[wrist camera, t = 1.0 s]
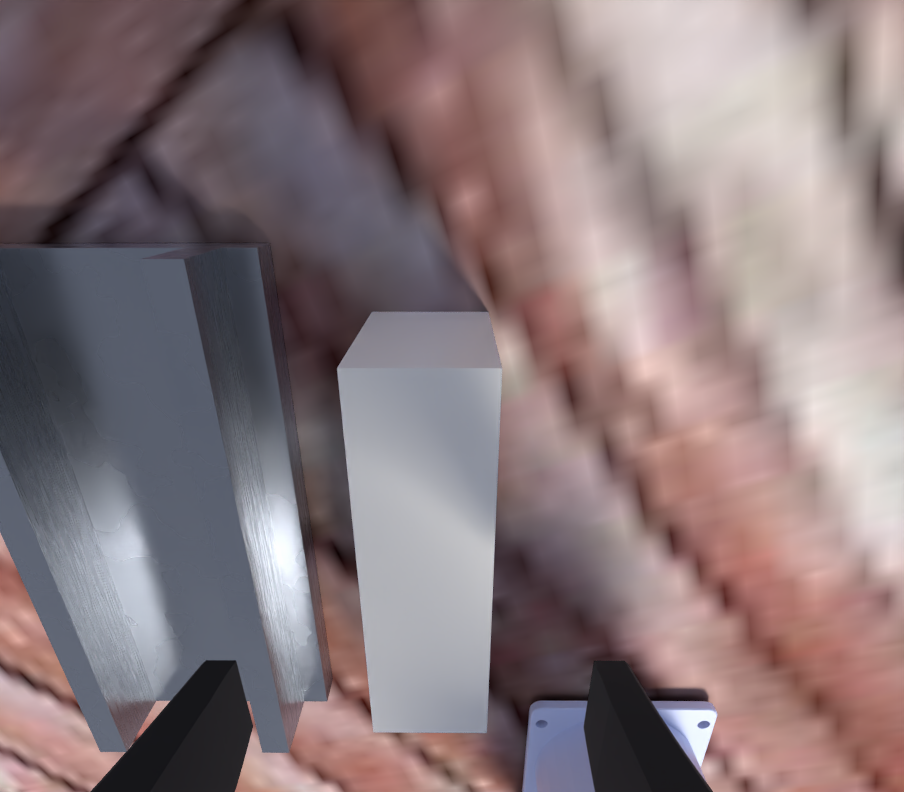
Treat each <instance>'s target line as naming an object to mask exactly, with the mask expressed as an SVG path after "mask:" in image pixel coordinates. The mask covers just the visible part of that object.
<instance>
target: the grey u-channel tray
mask: <svg viewBox="0 0 904 792" xmlns="http://www.w3.org/2000/svg"><path fill="white" fill-rule="evenodd" d="M0 533H1V535H2V537H3V539H4V541H5V544H6V546H7V548H8V550H9V552H10V554H11V557H12V559H13V561H14V563H15V565H16V568H17V570H18V572H19V574H20V576H21V579H22V581H23V583H24V585H25V587H26V590H27V592H28V594H29V596H30V598H31V601H32V603H33V605H34V607H35V609H36V611H37V614H38V616H39V618H40V620H41V622H42V625H43V627H44V629H45V631H46V633H47V636H48V638H49V640H50V642H51V644H52V647H53V649H54V651H55V653H56V655H57V658H58V660H59V662H60V664H61V666H62V669H63V671H64V673H65V675H66V677H67V679H68V682H69V684H70V686H71V688H72V690H73V693H74V695H75V697H76V699H77V701H78V704H79V706H80V708H81V710H82V712H83V715H84V717H85V719H86V721H87V723H88V726H89V728H90V730H91V732H92V734H93V736H94V739H95V741H96V743H97V745H98V747H99V750H100V752H127V751H128V749H129V747H130V746H131V744H132V742H133V740H134V739H135V737H136V735H137V733H138V732H139V730H140V728H141V726H142V725H143V723H144V721H145V719H146V718H147V716H148V714H149V712H150V711H151V709H152V707H153V705H154V704H155V702H156V701H171V700H172V699H173V697H174V696H175V695H176V694H177V693H178V692H179V690H180V689H181V688H182V687H183V686H184V684H185V683H186V682H187V681H188V680H189V679H190V677H191V676H192V675H193V674H194V673H195V671H196V670H197V669H198V668H199V667H200V666H201V664H202V663H204V662H205V661H206V660H236V662H237V666H238V670H239V673H240V677H241V681H242V685H243V689H244V693H245V697H246V701H250V704H251V708H252V712H253V716H254V720H255V724H256V728H257V732H258V736H259V740H260V744H261V748H262V752H270V753H289V752H290V748H291V745H292V741H293V738H294V734H295V731H296V727H297V724H298V721H299V717H300V714H301V710H302V707H303V703H304V701H327V700H328V696H329V692H330V688H331V684H332V679H333V678H332V671H331V664H330V657H329V650H328V643H327V636H326V629H325V622H324V615H323V608H322V601H321V594H320V587H319V581H318V574H317V567H316V560H315V553H314V546H313V539H312V532H311V525H310V518H309V511H308V504H307V497H306V490H305V483H304V476H303V470H302V463H301V456H300V449H299V442H298V435H297V428H296V421H295V414H294V407H293V400H292V393H291V386H290V379H289V372H288V365H287V359H286V352H285V345H284V338H283V331H282V324H281V317H280V310H279V303H278V296H277V289H276V282H275V275H274V268H273V261H272V254H271V247H270V243H83V244H0Z"/></svg>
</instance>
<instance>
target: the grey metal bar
mask: <svg viewBox="0 0 904 792" xmlns="http://www.w3.org/2000/svg"><path fill="white" fill-rule="evenodd" d="M337 373H338V383H339V393H340V403H341V413H342V423H343V433H344V443H345V453H346V463H347V473H348V483H349V493H350V503H351V513H352V523H353V533H354V543H355V553H356V563H357V573H358V583H359V593H360V603H361V613H362V623H363V633H364V643H365V653H366V663H367V673H368V683H369V693H370V703H371V713H372V723H373V732H411V733H487V715H488V692H489V668H490V644H491V621H492V597H493V573H494V550H495V526H496V502H497V479H498V455H499V431H500V408H501V384H502V366H501V361H500V357H499V353H498V349H497V345H496V341H495V337H494V333H493V328H492V324H491V320H490V316H489V312H372V313H371V314H370V316H369V317H368V319H367V321H366V322H365V324H364V325H363V327H362V329H361V330H360V332H359V333H358V335H357V337H356V338H355V340H354V341H353V343H352V345H351V346H350V348H349V350H348V351H347V353H346V354H345V356H344V358H343V359H342V361H341V362H340V364H339V366H338V367H337Z"/></svg>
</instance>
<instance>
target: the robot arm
mask: <svg viewBox="0 0 904 792" xmlns="http://www.w3.org/2000/svg"><path fill="white" fill-rule="evenodd" d="M716 718H717V712H716V710H715V708H714V706H713V704H712V703H710V702H706V701H651V700H650V698H649V697H648V695H647V694H646V692H645V691H644V689H643V687H642V686H641V684H640V682H639V681H638V679H637V677H636V676H635V674H634V673H633V671H632V669H631V667H630V666H629V665H628V664H627V663H626V662H625V661H594V665H593V671H592V677H591V683H590V689H589V696H588V701H543V700H542V701H536V702H534V703H533V704H532V705H531V706H530V709H529V720H528V731H527V742H526V753H525V764H524V776H523V787H522V792H713V791H712V790H711V788H710V787H709V786H708V784H707V782H706V780H705V777H704V775H703V773H702V770H701V765H702V762H703V759H704V755H705V752H706V749H707V746H708V743H709V740H710V737H711V734H712V731H713V727H714V724H715V721H716ZM252 728H253V724H252V721H251V717H250V713H249V709H248V705H247V701H246V697H245V693H244V689H243V685H242V681H241V677H240V673H239V670H238V666H237V662H236V660H206V661H205V662H204V663H202V664H201V666H200V667H199V668H198V669H197V670H196V671H195V673H194V674H193V675H192V676H191V677H190V679H189V680H188V681H187V682H186V683H185V684H184V686H183V687H182V688H181V689H180V690H179V692H178V693H177V694H176V695H175V696H174V697H173V699H172V700H171V701H170V702H169V703H168V705H167V706H166V707H165V708H164V709H163V710H162V712H161V713H160V714H159V715H158V716H157V717H156V719H155V720H154V721H153V722H152V723H151V724H150V726H149V727H148V728H147V729H146V730H145V731H144V733H143V734H142V735H141V736H140V737H139V738H138V739H137V741H136V742H135V743H134V744H133V745H132V746H131V747H130V748H129V749H128V751H127V752H126V753H125V754H124V755H123V756H122V757H121V758H120V760H119V761H118V762H117V763H116V764H115V765H114V766H113V767H112V769H111V770H110V771H109V772H108V773H107V774H106V775H105V776H104V778H103V779H102V780H101V781H100V782H99V783H98V784H97V785H96V786H95V787H94V788H93V790H92V791H91V792H235V789H236V786H237V783H238V779H239V776H240V772H241V769H242V765H243V762H244V758H245V754H246V751H247V747H248V743H249V739H250V735H251V732H252Z"/></svg>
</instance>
